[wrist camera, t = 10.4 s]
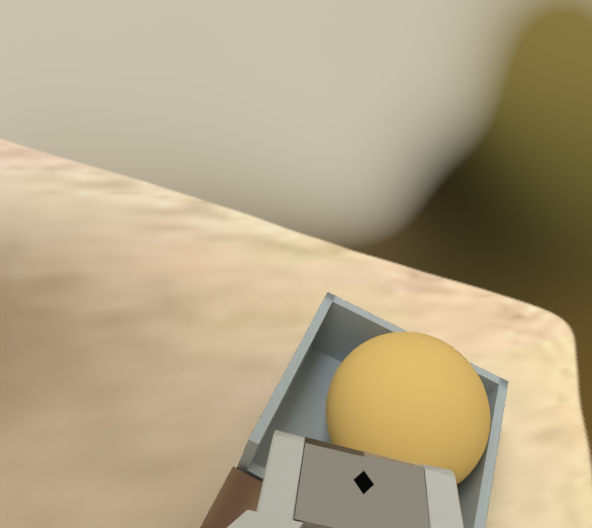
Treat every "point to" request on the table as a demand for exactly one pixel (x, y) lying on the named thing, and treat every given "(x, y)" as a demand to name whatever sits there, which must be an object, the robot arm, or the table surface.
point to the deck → (233, 499)
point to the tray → (314, 389)
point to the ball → (410, 403)
